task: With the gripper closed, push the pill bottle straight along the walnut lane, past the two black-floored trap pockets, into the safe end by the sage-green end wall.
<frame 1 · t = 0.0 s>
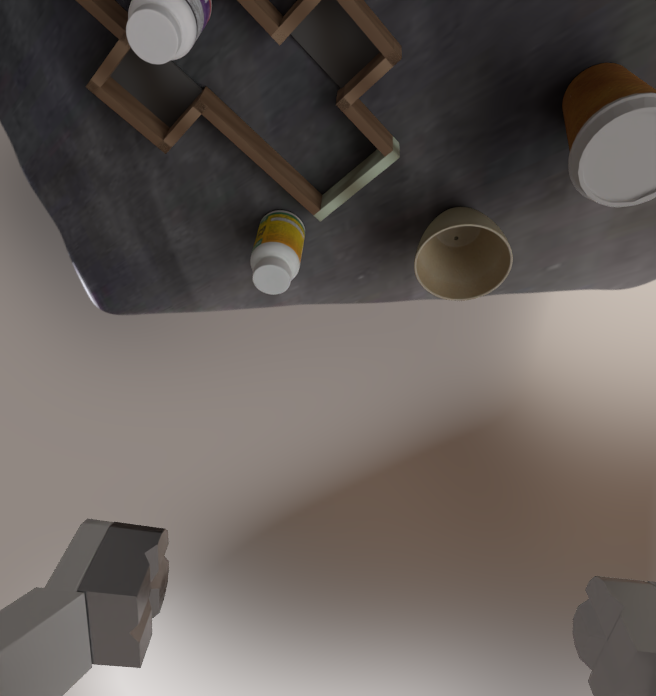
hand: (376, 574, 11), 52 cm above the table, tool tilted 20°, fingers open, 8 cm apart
flower pot: (456, 225, 66), on the table
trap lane: (259, 76, 56), on the table
disposable coffee cup: (597, 96, 55), on the table
supplement bottle: (282, 227, 68), on the table
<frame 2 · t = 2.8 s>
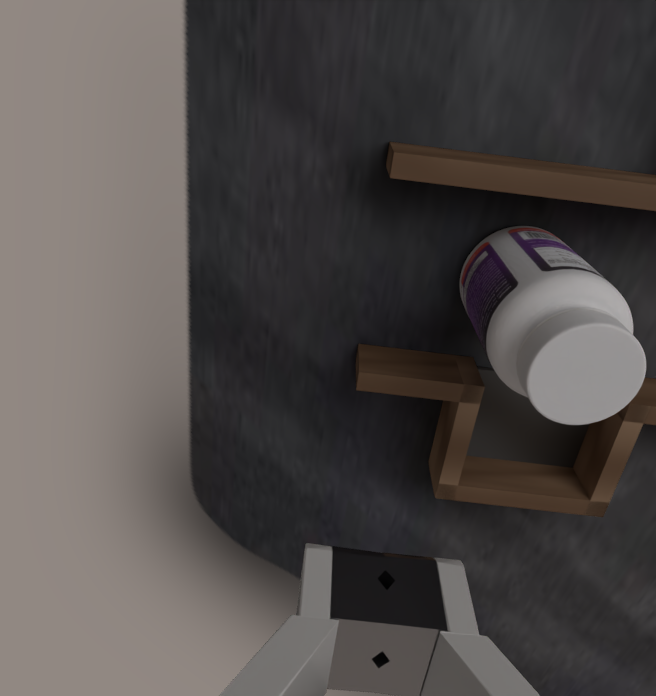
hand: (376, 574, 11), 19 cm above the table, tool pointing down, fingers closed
pill bottle: (513, 276, 29), resting in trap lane
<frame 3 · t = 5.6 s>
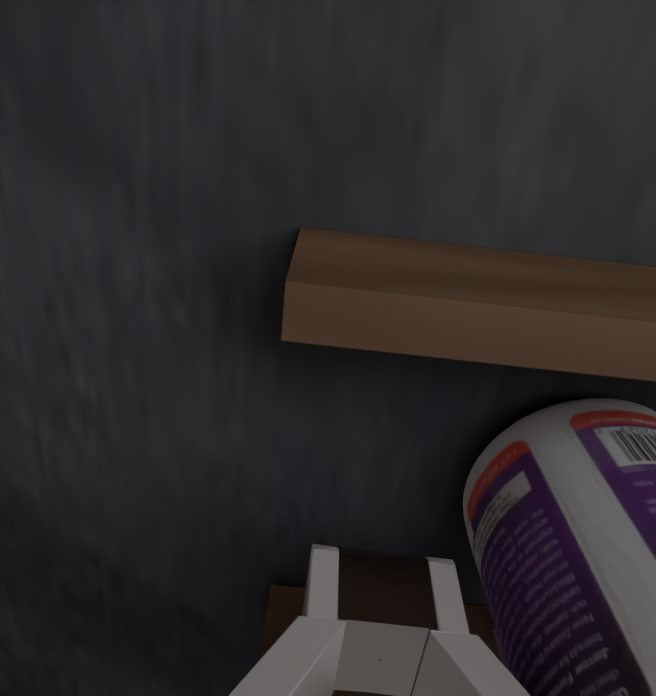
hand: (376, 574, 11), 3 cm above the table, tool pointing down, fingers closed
pill bottle: (569, 479, 14), resting in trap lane, touching gripper
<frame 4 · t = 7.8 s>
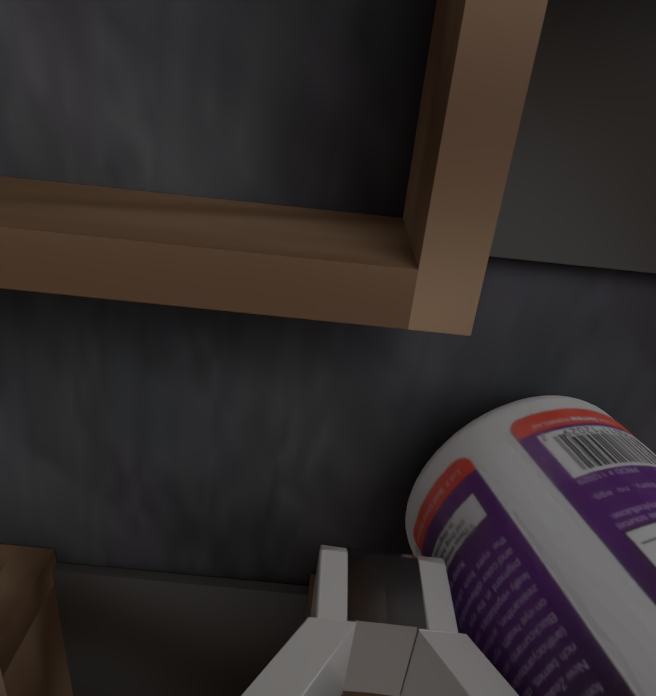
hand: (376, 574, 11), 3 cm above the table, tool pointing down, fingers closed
pill bottle: (506, 479, 14), point 1 cm above the table, touching gripper
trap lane: (450, 452, 14), on the table
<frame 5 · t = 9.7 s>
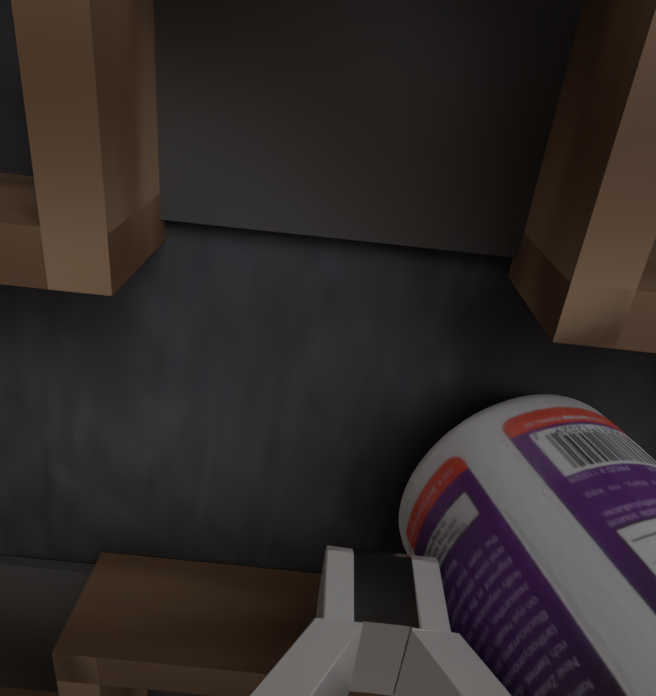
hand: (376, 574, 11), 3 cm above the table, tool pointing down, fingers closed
pill bottle: (499, 478, 14), point 1 cm above the table, touching gripper
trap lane: (212, 427, 14), on the table
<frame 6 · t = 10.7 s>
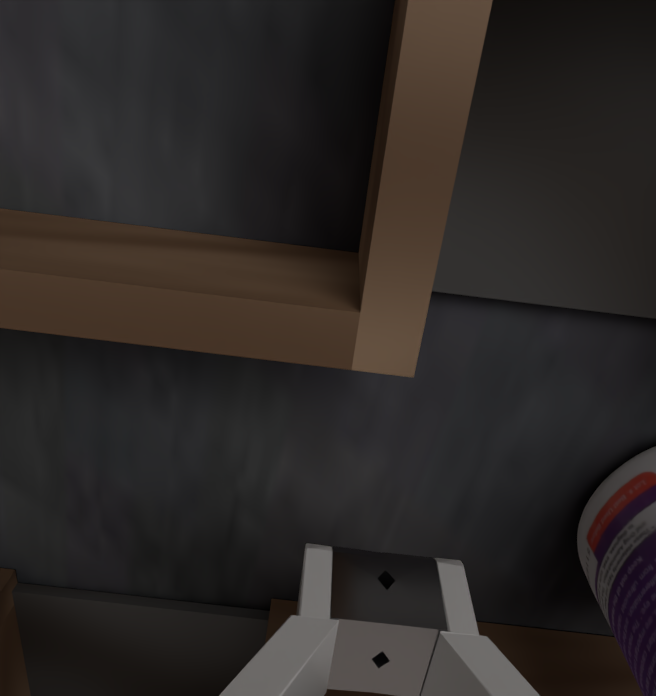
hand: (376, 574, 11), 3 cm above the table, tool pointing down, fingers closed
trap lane: (409, 482, 14), on the table
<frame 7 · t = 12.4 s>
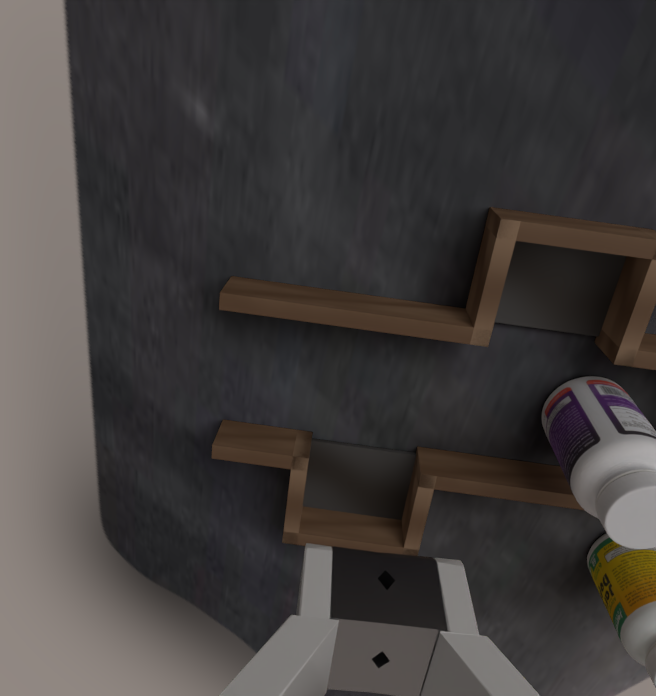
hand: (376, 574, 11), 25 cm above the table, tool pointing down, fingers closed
pill bottle: (583, 409, 37), resting in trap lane
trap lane: (477, 393, 37), on the table
supplement bottle: (622, 551, 42), on the table
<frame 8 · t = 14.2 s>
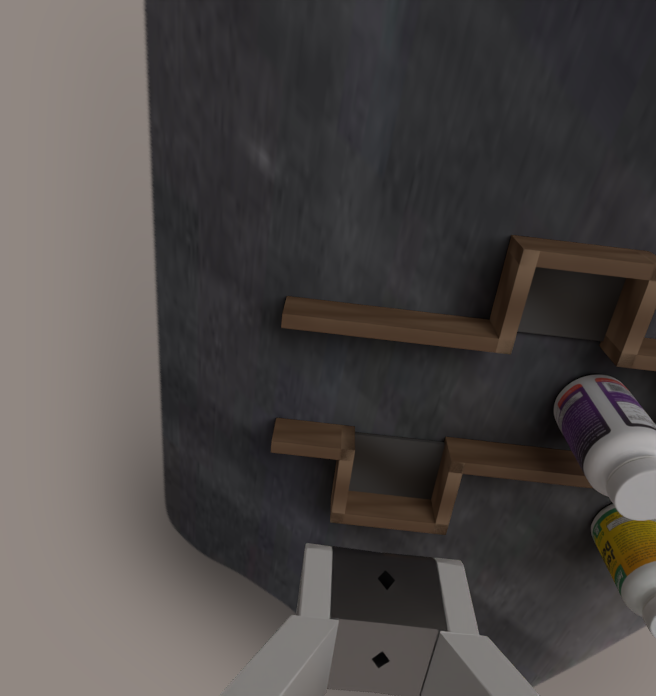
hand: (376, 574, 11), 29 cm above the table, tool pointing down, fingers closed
pill bottle: (588, 401, 43), resting in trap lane
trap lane: (498, 391, 43), on the table
supplement bottle: (621, 521, 48), on the table
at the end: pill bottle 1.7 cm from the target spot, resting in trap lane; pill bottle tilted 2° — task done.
